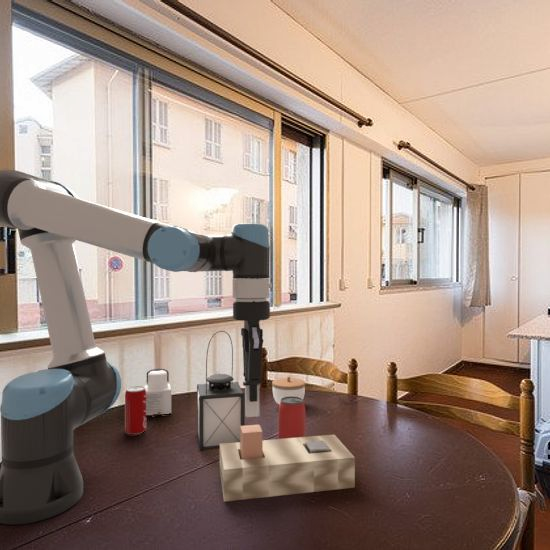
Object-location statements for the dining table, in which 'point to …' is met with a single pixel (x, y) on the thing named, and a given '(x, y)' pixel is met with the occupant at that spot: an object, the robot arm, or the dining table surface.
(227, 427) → the lantern
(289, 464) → the birch block
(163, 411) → the container
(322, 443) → the metal peg
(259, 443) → the terracotta peg
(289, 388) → the lidded jar
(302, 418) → the beer can
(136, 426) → the soda can
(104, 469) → the dining table surface
